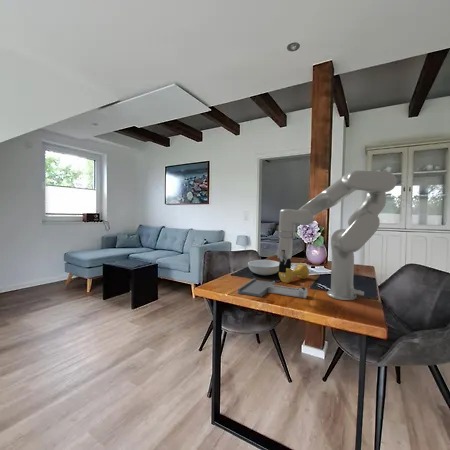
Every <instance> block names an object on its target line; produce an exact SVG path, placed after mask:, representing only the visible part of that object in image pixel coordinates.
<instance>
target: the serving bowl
mask: <svg viewBox="0 0 450 450" xmlns="http://www.w3.org/2000/svg"><path fill="white" fill-rule="evenodd" d="M247 266H248V269H249V270H250V271H251V272H252V273H254V274H256V275H259V276H270V275H275V274H277V273H279V261H276V260H270V259H254V260H251V261H248V262H247Z"/></svg>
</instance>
